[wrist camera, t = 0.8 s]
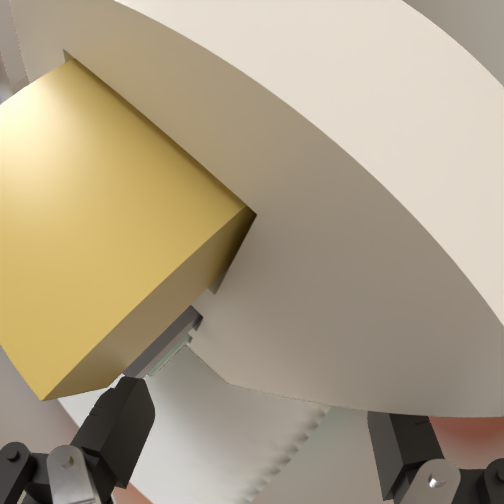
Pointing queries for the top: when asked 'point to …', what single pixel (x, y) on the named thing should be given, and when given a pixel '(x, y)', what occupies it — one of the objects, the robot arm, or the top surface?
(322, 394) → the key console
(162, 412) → the top surface
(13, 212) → the tan square block
